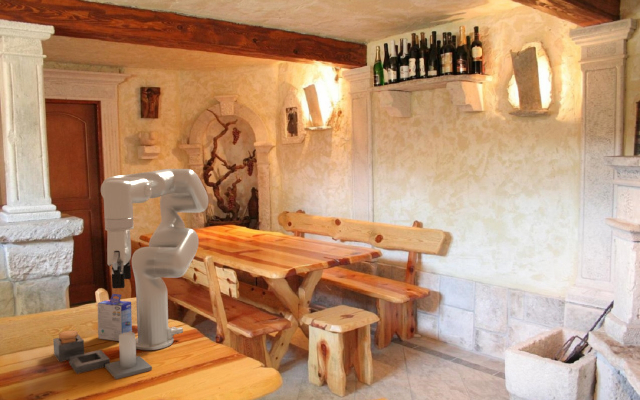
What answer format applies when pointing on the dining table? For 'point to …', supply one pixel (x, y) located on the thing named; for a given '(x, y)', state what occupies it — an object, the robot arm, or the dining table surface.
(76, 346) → the housing
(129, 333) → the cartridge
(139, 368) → the mat
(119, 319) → the ink cartridge box
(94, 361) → the collar
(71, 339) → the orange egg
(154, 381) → the dining table surface
